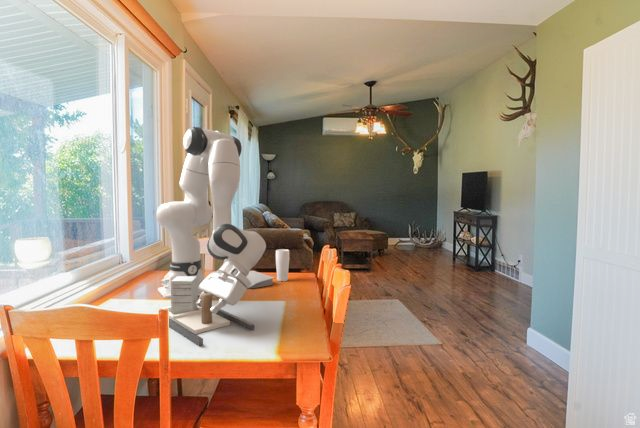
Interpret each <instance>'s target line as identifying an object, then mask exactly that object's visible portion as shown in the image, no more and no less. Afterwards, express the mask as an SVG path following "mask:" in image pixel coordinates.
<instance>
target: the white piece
mask: <svg viewBox="0 0 640 428" xmlns="http://www.w3.org/2000/svg"><path fill="white" fill-rule="evenodd" d="M289 264H290V250H289V249H288V248H287V249H285V248H279V249H276V250H275V266H276V267H275V268H276V281H277V282H281V281H283V282H287V281H288V280H289V266H290V265H289Z"/></svg>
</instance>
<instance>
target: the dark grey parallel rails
mask: <svg viewBox="0 0 640 428" xmlns="http://www.w3.org/2000/svg"><path fill="white" fill-rule="evenodd" d="M216 315H219V316H221V317H223V318H225V319H227V320H229V321H230V323H233V324H236V325H237V326H240V327H241V328H243V329H246V330H248V331H250V332H252V331H255V324H254V323H253V322H250V321H248V320H246V319H243V318H242V317H239V316H237V315H235V314H233V313H230V312H228V311H226V310H223V309H222V308H221V309H220V310H218V312H217V313H216ZM168 328H170V329H172V330H173V331H174V332H176V333H178V334H179V335H180V336H182V337H183V338H186V339H187V340H189V341H191V343H193V344H194V345H196V346H198V347H202V346H204V338H203V337H201V336H200V335H198V334H194V333H193V332H191V331H189V330H188V329H186V328H185V327H183V326H181V325H180V324H178V323H176V322H175V321H173V320H171V319H170V318H169V327H168Z"/></svg>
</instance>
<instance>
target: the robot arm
mask: <svg viewBox="0 0 640 428" xmlns="http://www.w3.org/2000/svg"><path fill="white" fill-rule="evenodd" d="M182 141H183V142H182V143H183V148H184V151H185V152H187V154H186V157H185V160H184V164H183V167H182V171H181V174H180V179H179V188H180V189H181V191H183V192H184V200H182V201H181V200H180V201H178V200H177V201H169V202H165V203H162V204H160V205H159V206H158V208H157V210H156V215H155V216H156V221H157V222H158V224H159V226H161V227H162V229H164V230H165V231H166V233H167V235H168V237H169V240H170V244H171V245H170V246H171V261H170V265H169V271H168V272H167V273H166V274H165V275H164V277H163V279H161V285H162V286H160V287H158V288H157V291H158V292H159V294H160V296H161V297H163V299H164V298H165V299H171V281H172V280H173V279H174V278H176V277H177V276H197V297H198V296H199V297H198V301H197V302H196V305H198V306H199V307H201V295H202V294H204V293H211V294H212V299H215V300H217V301H218V302H217V303H216V304H214V305H212V308H211V309H210V311H211V312H212V313H214V314H216V313H217V312H218V310H220V309H222V308H224V307H225V306H226V305H230V306H235V305H236V304H238V303H239V301H241V299H242V298H243V296H244V295H245V293H246V292H247V289H250V288H249V287H250V286H251V284H252V283H251V282H250V280H249V279H248V278H247V275H248V274H249V272H250V271H252V268H254V266H256V265H257V263H258V262H259V261H260V259H261V258H262V256H263V254H264V253H265V251H266V249H267V244H266V241H265V239H264V238H263V235H261V234H260V233H258V232H257V231H254V230H251V231H250V230H245V229H241V228H238V227H237V226H235V225H234V224H231V208H232V203H233V199H234V197H235V196H236V193H237V190H238V188H239V186H240V180H241V163H240V162H241V161H240V156H241V154H242V149H243V148H242V143H241V140H239V139H238V138H237V137H236V136H233V135H229V134H226V133H224V132H222V131H218V130H212V129H208V128H206V129H205V128H201V127H200V126H191V127H189V128H188V129H187V130H186V131H185V134H184V136H183V140H182ZM209 186H210V193H211V199H212V200H211V201H212V207H211V205H210V204H209V203H208V187H209ZM211 220H212V231H211V233H210V236H209V238H208V240H207V243H206V244H207V245H206V247H207V252H208V253H209V255H210V257H212V258H214V259H216V260H220V261H222V260H225V261H224V262H223V264H221V266H220V267H219V269H217V270H214V271H212V272H210V273H209V274H208V275H206V276H205V273H204V271H203V270H202V260H201V242H200V240H199V239H198V238H196V237H195V236H194V235H193V233H192V229H191V228H193V227H201V226H204V225H207V224H209V223H210V221H211ZM216 315H217V314H216Z"/></svg>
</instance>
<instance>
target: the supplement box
mask: <svg viewBox="0 0 640 428" xmlns="http://www.w3.org/2000/svg"><path fill="white" fill-rule="evenodd" d="M170 299H171V300H170V301H171V302H170V303H171V304H170V306H171V313H172V314H174V315H176V314H181V313H185V312H190V311H194V310H197V308H198V305H196V302H197V301H198V300H199V297H198V296H197V276H177V277H176V278H174V279H173V280H172V281H171V298H170Z"/></svg>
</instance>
